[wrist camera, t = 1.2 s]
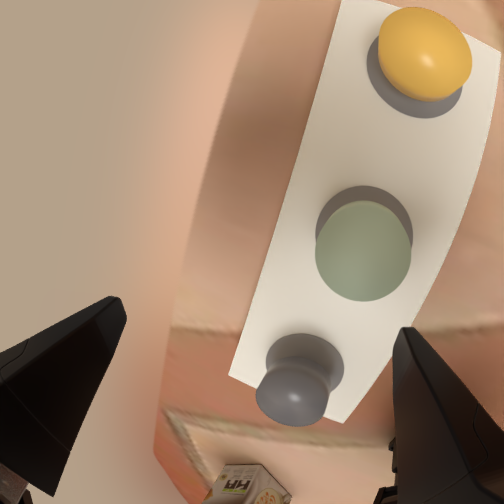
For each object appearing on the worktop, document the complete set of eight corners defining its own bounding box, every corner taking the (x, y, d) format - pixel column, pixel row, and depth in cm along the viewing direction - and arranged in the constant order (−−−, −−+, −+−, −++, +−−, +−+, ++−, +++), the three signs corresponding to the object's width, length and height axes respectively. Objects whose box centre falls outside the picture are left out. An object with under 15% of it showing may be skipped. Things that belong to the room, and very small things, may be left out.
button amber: (463, 46, 10) (476, 30, 8) (450, 117, 11) (464, 109, 9) (386, 16, 11) (387, -5, 9) (369, 84, 12) (369, 71, 10)
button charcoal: (343, 368, 17) (338, 394, 15) (316, 410, 19) (308, 434, 17) (280, 342, 18) (267, 364, 16) (260, 387, 20) (247, 408, 18)
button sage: (418, 219, 14) (426, 229, 11) (384, 294, 15) (386, 315, 13) (338, 186, 15) (333, 191, 12) (311, 264, 16) (301, 280, 14)
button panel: (485, 65, 12) (502, 51, 9) (347, 399, 23) (342, 425, 20) (348, 13, 15) (343, -9, 12) (242, 354, 25) (227, 376, 23)
